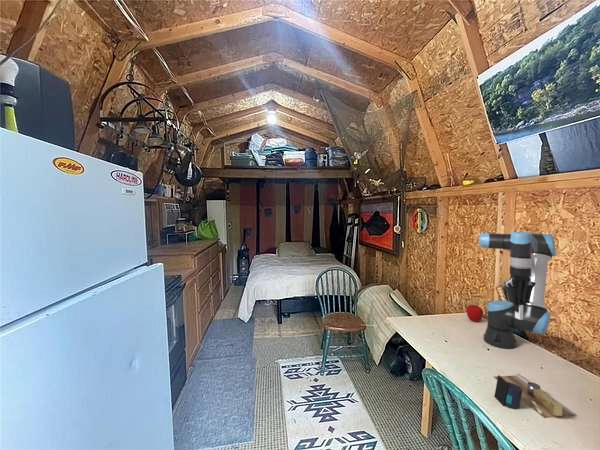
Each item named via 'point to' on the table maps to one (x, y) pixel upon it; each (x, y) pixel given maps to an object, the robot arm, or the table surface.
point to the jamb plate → (533, 401)
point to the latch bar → (544, 399)
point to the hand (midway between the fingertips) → (518, 318)
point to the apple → (474, 313)
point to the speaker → (508, 393)
